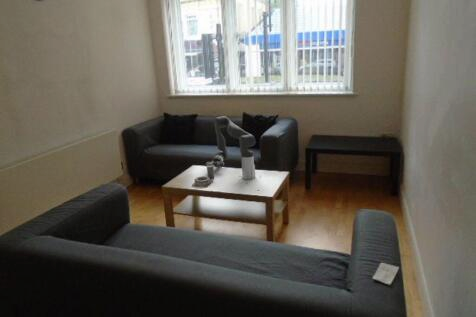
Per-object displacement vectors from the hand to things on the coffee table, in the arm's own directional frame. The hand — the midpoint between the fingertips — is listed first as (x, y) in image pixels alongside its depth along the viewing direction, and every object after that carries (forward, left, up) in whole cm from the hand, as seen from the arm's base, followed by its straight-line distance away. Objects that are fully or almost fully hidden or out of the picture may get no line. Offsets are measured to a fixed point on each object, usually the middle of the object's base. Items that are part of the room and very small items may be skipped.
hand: (212, 166), depth 297 cm
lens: (-1, +8, -7) cm, 11 cm away
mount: (0, +21, -7) cm, 22 cm away
